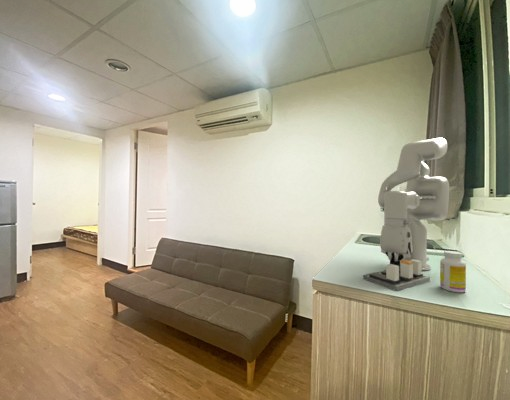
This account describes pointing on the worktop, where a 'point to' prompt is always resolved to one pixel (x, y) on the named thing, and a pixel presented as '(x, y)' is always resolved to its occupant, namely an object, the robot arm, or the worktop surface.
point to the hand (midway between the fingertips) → (394, 270)
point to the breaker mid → (407, 269)
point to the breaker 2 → (417, 267)
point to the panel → (396, 285)
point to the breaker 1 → (392, 272)
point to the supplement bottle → (453, 272)
